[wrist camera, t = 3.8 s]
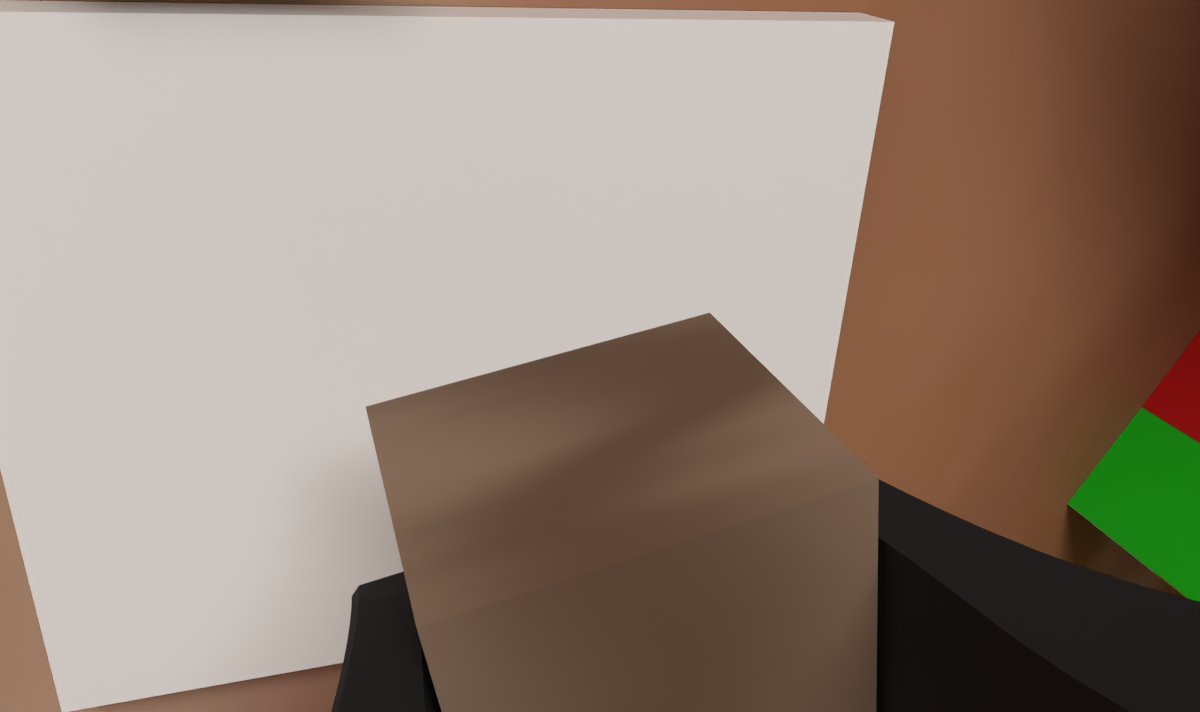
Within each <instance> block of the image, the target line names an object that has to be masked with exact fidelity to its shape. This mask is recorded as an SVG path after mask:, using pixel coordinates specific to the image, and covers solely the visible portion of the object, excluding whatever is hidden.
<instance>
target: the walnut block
mask: <svg viewBox="0 0 1200 712" xmlns="http://www.w3.org/2000/svg"><path fill="white" fill-rule="evenodd" d="M366 411H367V415H368V419H369V424H370V428H371V432H372V437H373V441H374V445H375V450H376V454H377V459H378V463H379V467H380V472H381V476H382V480H383V485H384V489H385V493H386V498H387V502H388V506H389V511H390V515H391V519H392V524H393V528H394V532H395V537H396V541H397V545H398V550H399V554H400V558H401V563H402V567H403V571H404V576H405V580H406V584H407V589H408V593H409V597H410V602H411V606H412V610H413V615H414V619H415V623H416V628H417V631H418V635H419V638H420V641H421V645H422V648H423V651H424V655H425V658H426V661H427V665H428V668H429V671H430V675H431V678H432V681H433V685H434V688H435V691H436V695H437V698H438V701H439V705H440V708H441V711H442V712H876V693H877V597H878V502H879V478H878V477H877V476H876V475H875V474H874V473H873V472H872V471H871V470H870V469H869V468H868V467H867V466H866V465H865V464H864V463H863V462H862V461H861V460H860V459H859V458H858V457H857V456H856V455H855V454H854V453H853V452H852V451H851V450H850V449H849V448H848V447H846V446H845V445H844V444H843V443H842V442H841V441H840V440H839V439H838V438H837V437H836V436H835V435H834V434H833V433H832V432H831V431H830V430H829V429H828V428H827V427H826V426H825V425H824V424H823V423H822V422H821V421H820V420H819V419H818V418H817V417H816V416H815V415H814V414H813V413H812V412H811V411H810V410H809V409H808V408H807V407H806V406H805V405H804V404H803V403H802V402H800V401H799V400H798V399H797V398H796V397H795V396H794V395H793V394H792V393H791V392H790V391H789V390H788V389H787V388H786V387H785V386H784V385H783V384H782V383H781V382H780V381H779V380H778V379H777V378H776V377H775V376H774V375H773V374H772V373H771V372H770V371H769V370H768V369H767V368H766V367H765V366H764V365H763V364H762V363H761V362H760V361H759V360H758V359H757V358H756V357H755V356H753V355H752V354H751V353H750V352H749V351H748V350H747V349H746V348H745V347H744V346H743V345H742V344H741V343H740V342H739V341H738V340H737V339H736V338H735V337H734V336H733V335H732V334H731V333H730V332H729V331H728V330H727V329H726V328H725V327H724V326H723V325H722V324H721V323H720V322H719V321H718V320H717V319H716V318H715V317H714V316H713V315H712V314H711V313H707V314H703V315H699V316H696V317H692V318H688V319H685V320H681V321H678V322H674V323H670V324H667V325H663V326H659V327H656V328H652V329H648V330H645V331H641V332H637V333H634V334H630V335H626V336H623V337H619V338H615V339H612V340H608V341H604V342H601V343H597V344H593V345H590V346H586V347H582V348H579V349H575V350H571V351H568V352H564V353H560V354H557V355H553V356H549V357H546V358H542V359H538V360H535V361H531V362H527V363H524V364H520V365H516V366H513V367H509V368H505V369H502V370H498V371H494V372H491V373H487V374H483V375H480V376H476V377H472V378H469V379H465V380H461V381H458V382H454V383H450V384H447V385H443V386H439V387H436V388H432V389H428V390H425V391H421V392H417V393H414V394H410V395H406V396H403V397H399V398H396V399H392V400H388V401H385V402H381V403H377V404H374V405H370V406H366Z"/></svg>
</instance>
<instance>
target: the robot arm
mask: <svg viewBox="0 0 1200 712" xmlns="http://www.w3.org/2000/svg"><path fill="white" fill-rule="evenodd" d="M332 712H442V711H441V708H440V705H439V701H438V698H437V695H436V691H435V688H434V685H433V681H432V678H431V675H430V671H429V668H428V665H427V661H426V658H425V655H424V651H423V648H422V645H421V641H420V638H419V635H418V631H417V628H416V623H415V619H414V615H413V610H412V606H411V602H410V597H409V593H408V589H407V584H406V580H405V576H404V571H403V572H400V573H397V574H394V575H390V576H387V577H384V578H381V579H378V580H375V581H371V582H368V583H365V584H362V585H359V586H358V588H357V589H356V591H355V592H354V594H353V595H352V604H351V617H350V626H349V633H348V639H347V645H346V651H345V656H344V661H343V666H342V671H341V676H340V680H339V684H338V688H337V692H336V696H335V700H334V704H333V708H332ZM876 712H1200V602H1199V601H1195V600H1192V599H1188V598H1184V597H1180V596H1176V595H1172V594H1169V593H1165V592H1161V591H1157V590H1154V589H1151V588H1147V587H1144V586H1140V585H1137V584H1133V583H1130V582H1127V581H1124V580H1120V579H1117V578H1114V577H1111V576H1108V575H1105V574H1102V573H1099V572H1096V571H1093V570H1090V569H1087V568H1084V567H1081V566H1078V565H1075V564H1072V563H1069V562H1066V561H1064V560H1061V559H1058V558H1056V557H1053V556H1050V555H1047V554H1045V553H1042V552H1039V551H1037V550H1034V549H1032V548H1029V547H1027V546H1024V545H1022V544H1020V543H1017V542H1015V541H1012V540H1010V539H1007V538H1005V537H1002V536H1000V535H997V534H995V533H993V532H990V531H988V530H985V529H983V528H981V527H979V526H976V525H974V524H972V523H969V522H967V521H965V520H963V519H960V518H958V517H956V516H954V515H952V514H949V513H947V512H945V511H943V510H941V509H939V508H937V507H934V506H932V505H930V504H928V503H926V502H924V501H922V500H920V499H918V498H916V497H913V496H911V495H909V494H907V493H905V492H903V491H901V490H899V489H897V488H895V487H893V486H891V485H889V484H887V483H885V482H883V481H881V480H879V502H878V597H877V693H876Z"/></svg>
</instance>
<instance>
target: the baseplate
mask: <svg viewBox="0 0 1200 712" xmlns="http://www.w3.org/2000/svg"><path fill="white" fill-rule="evenodd" d="M893 27H894V22H893V21H889V20H886V19H882V18H878V17H874V16H871V15H867V14H863V13H849V12H779V11H709V10H640V9H570V8H501V7H431V6H361V5H292V4H222V3H153V2H83V1H14V0H0V469H1V473H2V477H3V481H4V485H5V489H6V493H7V497H8V501H9V505H10V509H11V513H12V517H13V521H14V525H15V529H16V533H17V537H18V541H19V544H20V548H21V552H22V556H23V560H24V564H25V568H26V572H27V576H28V580H29V584H30V588H31V592H32V596H33V600H34V604H35V608H36V612H37V616H38V620H39V624H40V627H41V631H42V635H43V639H44V643H45V647H46V651H47V655H48V659H49V663H50V667H51V671H52V675H53V679H54V683H55V687H56V691H57V695H58V699H59V703H60V707H61V710H62V712H69V711H75V710H80V709H86V708H92V707H97V706H103V705H108V704H114V703H120V702H125V701H131V700H136V699H142V698H148V697H153V696H159V695H165V694H170V693H176V692H181V691H187V690H193V689H198V688H204V687H210V686H215V685H221V684H226V683H232V682H238V681H243V680H249V679H254V678H260V677H266V676H271V675H277V674H283V673H288V672H294V671H299V670H305V669H311V668H316V667H322V666H327V665H333V664H339V663H343V661H344V656H345V651H346V645H347V639H348V633H349V626H350V617H351V604H352V595H353V594H354V592H355V591H356V589H357V588H358V586H359V585H362V584H365V583H368V582H371V581H375V580H378V579H381V578H384V577H387V576H390V575H394V574H397V573H400V572H403V567H402V563H401V558H400V554H399V550H398V545H397V541H396V537H395V532H394V528H393V524H392V519H391V515H390V511H389V506H388V502H387V498H386V493H385V489H384V485H383V480H382V476H381V472H380V467H379V463H378V459H377V454H376V450H375V445H374V441H373V437H372V432H371V428H370V424H369V419H368V415H367V411H366V406H370V405H374V404H377V403H381V402H385V401H388V400H392V399H396V398H399V397H403V396H406V395H410V394H414V393H417V392H421V391H425V390H428V389H432V388H436V387H439V386H443V385H447V384H450V383H454V382H458V381H461V380H465V379H469V378H472V377H476V376H480V375H483V374H487V373H491V372H494V371H498V370H502V369H505V368H509V367H513V366H516V365H520V364H524V363H527V362H531V361H535V360H538V359H542V358H546V357H549V356H553V355H557V354H560V353H564V352H568V351H571V350H575V349H579V348H582V347H586V346H590V345H593V344H597V343H601V342H604V341H608V340H612V339H615V338H619V337H623V336H626V335H630V334H634V333H637V332H641V331H645V330H648V329H652V328H656V327H659V326H663V325H667V324H670V323H674V322H678V321H681V320H685V319H688V318H692V317H696V316H699V315H703V314H707V313H711V314H712V315H713V316H714V317H715V318H716V319H717V320H718V321H719V322H720V323H721V324H722V325H723V326H724V327H725V328H726V329H727V330H728V331H729V332H730V333H731V334H732V335H733V336H734V337H735V338H736V339H737V340H738V341H739V342H740V343H741V344H742V345H743V346H744V347H745V348H746V349H747V350H748V351H749V352H750V353H751V354H752V355H753V356H755V357H756V358H757V359H758V360H759V361H760V362H761V363H762V364H763V365H764V366H765V367H766V368H767V369H768V370H769V371H770V372H771V373H772V374H773V375H774V376H775V377H776V378H777V379H778V380H779V381H780V382H781V383H782V384H783V385H784V386H785V387H786V388H787V389H788V390H789V391H790V392H791V393H792V394H793V395H794V396H795V397H796V398H797V399H798V400H799V401H800V402H802V403H803V404H804V405H805V406H806V407H807V408H808V409H809V410H810V411H811V412H812V413H813V414H814V415H815V416H816V417H817V418H818V419H819V420H820V421H821V422H822V423H823V424H824V420H825V414H826V409H827V403H828V397H829V392H830V386H831V380H832V374H833V369H834V363H835V357H836V352H837V346H838V340H839V335H840V329H841V323H842V318H843V312H844V306H845V301H846V295H847V289H848V283H849V278H850V272H851V266H852V261H853V255H854V249H855V244H856V238H857V232H858V227H859V221H860V215H861V209H862V204H863V198H864V192H865V187H866V181H867V175H868V170H869V164H870V158H871V153H872V147H873V141H874V136H875V130H876V124H877V118H878V113H879V107H880V101H881V96H882V90H883V84H884V79H885V73H886V67H887V62H888V56H889V50H890V44H891V39H892V33H893Z"/></svg>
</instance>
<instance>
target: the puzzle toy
mask: <svg viewBox="0 0 1200 712" xmlns="http://www.w3.org/2000/svg"><path fill="white" fill-rule="evenodd" d="M1068 505H1069V506H1071V507H1072V508H1073V509H1074V510H1076V511H1077V512H1078V513H1079V514H1081V515H1082V516H1083V517H1085V518H1086V519H1087V520H1088V521H1090V522H1091V523H1092V524H1093V525H1095V526H1096V527H1097V528H1098V529H1100V530H1101V531H1102V532H1103V533H1105V534H1106V535H1107V536H1108V537H1110V538H1111V539H1112V540H1114V541H1115V542H1116V543H1117V544H1119V545H1120V546H1121V547H1122V548H1124V549H1125V550H1126V551H1127V552H1129V553H1130V554H1131V555H1132V556H1134V557H1135V558H1136V559H1137V560H1139V561H1140V562H1141V563H1143V564H1144V565H1145V566H1146V567H1148V568H1149V569H1150V570H1151V571H1153V572H1154V573H1155V574H1156V575H1158V576H1159V577H1160V578H1161V579H1163V580H1164V581H1165V582H1166V583H1168V584H1169V585H1170V586H1171V587H1173V588H1174V589H1175V590H1177V591H1178V592H1179V593H1180V594H1182V595H1183V596H1184V597H1185V598H1188V599H1192V600H1195V601H1199V602H1200V332H1199V333H1198V334H1197V335H1196V337H1195V338H1194V339H1193V341H1192V342H1191V343H1190V345H1189V346H1188V347H1187V349H1186V350H1185V351H1184V352H1183V354H1182V355H1181V356H1180V358H1179V359H1178V360H1177V362H1176V363H1175V364H1174V365H1173V367H1172V368H1171V369H1170V371H1169V372H1168V373H1167V375H1166V376H1165V377H1164V379H1163V380H1162V381H1161V382H1160V384H1159V385H1158V386H1157V388H1156V389H1155V390H1154V392H1153V393H1152V394H1151V396H1150V397H1149V398H1148V399H1147V401H1146V402H1145V403H1144V405H1143V406H1142V407H1141V409H1140V410H1139V411H1138V412H1137V414H1136V415H1135V416H1134V418H1133V419H1132V420H1131V422H1130V423H1129V424H1128V426H1127V427H1126V428H1125V429H1124V431H1123V432H1122V433H1121V435H1120V436H1119V437H1118V439H1117V440H1116V441H1115V443H1114V444H1113V445H1112V446H1111V448H1110V449H1109V450H1108V452H1107V453H1106V454H1105V456H1104V457H1103V458H1102V459H1101V461H1100V462H1099V463H1098V465H1097V466H1096V467H1095V469H1094V470H1093V471H1092V473H1091V474H1090V475H1089V476H1088V478H1087V479H1086V480H1085V482H1084V483H1083V484H1082V486H1081V487H1080V488H1079V489H1078V491H1077V492H1076V493H1075V495H1074V496H1073V497H1072V499H1071V500H1070V501H1069V503H1068Z"/></svg>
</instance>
